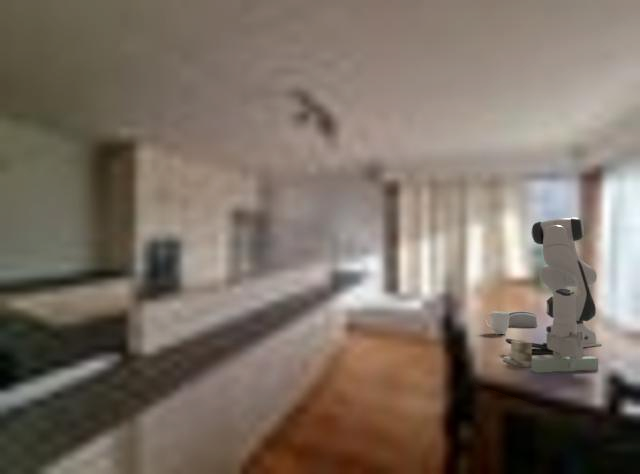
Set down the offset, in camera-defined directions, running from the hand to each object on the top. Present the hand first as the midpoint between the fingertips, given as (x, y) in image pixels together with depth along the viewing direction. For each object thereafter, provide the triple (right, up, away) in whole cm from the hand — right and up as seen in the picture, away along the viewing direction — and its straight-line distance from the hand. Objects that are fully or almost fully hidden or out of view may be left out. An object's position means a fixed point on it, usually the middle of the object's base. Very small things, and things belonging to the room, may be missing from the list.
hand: (564, 365), depth 227 cm
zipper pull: (-1, -2, +27) cm, 28 cm away
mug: (-2, -1, +79) cm, 79 cm away
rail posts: (-2, -2, +14) cm, 14 cm away
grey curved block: (+19, -1, +103) cm, 105 cm away
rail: (0, -2, 0) cm, 2 cm away
